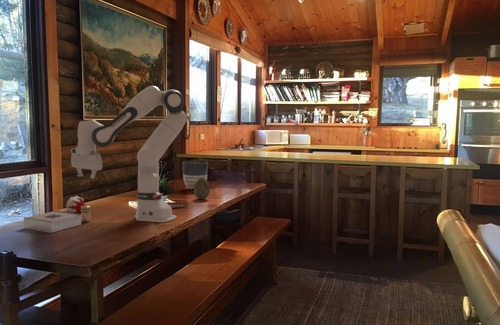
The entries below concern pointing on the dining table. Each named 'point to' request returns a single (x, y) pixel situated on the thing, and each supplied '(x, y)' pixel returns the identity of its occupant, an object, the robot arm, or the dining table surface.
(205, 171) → the planter
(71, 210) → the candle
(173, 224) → the dining table surface
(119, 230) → the dining table surface
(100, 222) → the dining table surface
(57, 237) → the dining table surface
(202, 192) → the decorative egg
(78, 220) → the bore block
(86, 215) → the small beige jar
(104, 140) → the robot arm
